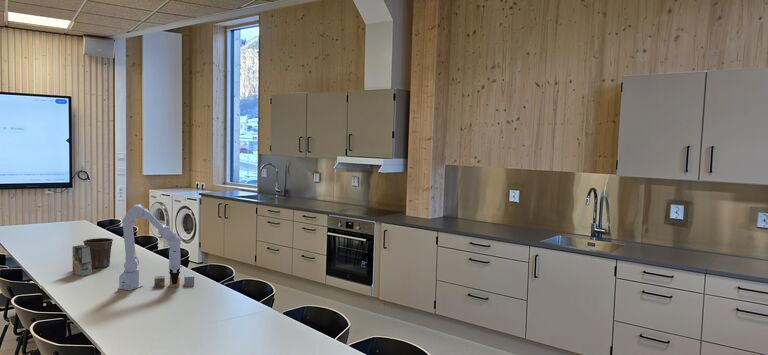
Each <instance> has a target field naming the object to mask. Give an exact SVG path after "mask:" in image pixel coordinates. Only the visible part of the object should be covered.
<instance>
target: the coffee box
mask: <svg viewBox="0 0 768 355" xmlns="http://www.w3.org/2000/svg"><path fill="white" fill-rule="evenodd" d="M71 248H72V275H77V276H80V277H84V276H89V275H92V273H93V271H92V270H93V268H92V247H91V246H85V245H84V244H80V245H73V246H72V247H71Z"/></svg>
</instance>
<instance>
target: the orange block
mask: <svg viewBox="0 0 768 355" xmlns="http://www.w3.org/2000/svg"><path fill="white" fill-rule="evenodd" d="M180 279H181V278H180V275H179V276H178V280H177V284H172V279H171V276H170V275H169V288H174V287H175V286H176V287H180V285H181V284H180V281H181V280H180ZM176 287H175V288H176Z"/></svg>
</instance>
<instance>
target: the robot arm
mask: <svg viewBox="0 0 768 355" xmlns="http://www.w3.org/2000/svg"><path fill="white" fill-rule="evenodd" d="M140 217H141V218H140ZM139 218H140V219H141V220H147V221H148V222H149V223H150V224H152V226H154V227H155V228H156V229H157V232H158V235H160V236H161V237H162V238H163V240H165V241H166V242H168V245H169V250H168V253H169V254H168V269H169V271H168V274H169V277H170V276H171V279H172V284H177V280H178V276H180V274H181V271H180V270H181V268H183V266H184V265H181V241H182V240H181V237H180V236H179V235H177V233H176V232H174V231H172V229H171V227H170V226H168V225H163V224H162V222H160V221H159V220H158V218H157V217H155V215H154V214H152V212H150V210H148V209H147V208H146V207H145V206H144V205H142V204H139V203H136V204H134V205H133V206H132V207H130V208H129V209H128V210H127V213H126V214H125V215H124V217H123V219H122V231H123V233H122V234H123V241H124V252H125V258H124V259H125V263H124V264H123V268H124V269H123V272H122V273H121V274H119V277H118V278H119V279H118V287H117V289H118V290H125V291H132V290H135V289H138V288H143V284H140V269H139V268H138V266H139V263H140V260H139V258H138V256H137V253H136V245H135V234H134V226H133V223H134V222H135V221H136V220H137V219H139Z"/></svg>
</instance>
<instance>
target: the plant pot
mask: <svg viewBox="0 0 768 355" xmlns="http://www.w3.org/2000/svg"><path fill="white" fill-rule="evenodd" d="M113 242H114V239H113V238H110V237H109V238H108V237H100V238H99V237H97V238H90V239H84V240H83V241H82V243H83V245H85V246H91V247H92V269H96V268H99V269H103V268H107V267H110V264H111V255H112V254H111V252H112V246H113Z"/></svg>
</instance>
